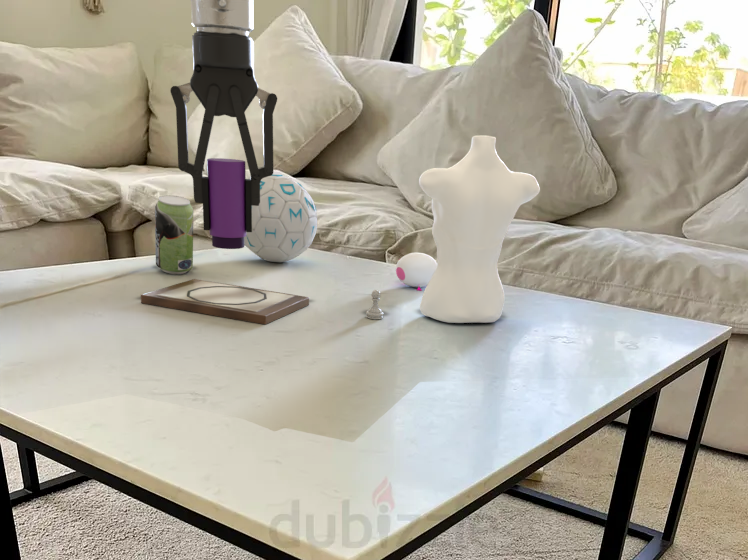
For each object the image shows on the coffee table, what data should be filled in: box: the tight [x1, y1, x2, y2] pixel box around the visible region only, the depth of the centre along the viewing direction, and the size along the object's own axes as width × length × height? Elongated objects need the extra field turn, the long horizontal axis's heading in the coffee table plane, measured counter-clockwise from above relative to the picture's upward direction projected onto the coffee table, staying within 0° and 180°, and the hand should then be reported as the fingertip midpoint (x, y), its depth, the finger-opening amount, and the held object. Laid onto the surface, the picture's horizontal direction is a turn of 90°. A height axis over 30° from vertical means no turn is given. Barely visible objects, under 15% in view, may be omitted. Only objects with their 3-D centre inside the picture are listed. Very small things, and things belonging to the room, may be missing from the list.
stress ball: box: [395, 252, 437, 291], centre depth 135 cm, size 8×8×7 cm
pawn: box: [365, 289, 384, 320], centre depth 113 cm, size 3×3×4 cm
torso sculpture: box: [418, 134, 541, 324], centre depth 112 cm, size 18×10×25 cm, turn 108°
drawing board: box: [140, 278, 310, 325], centre depth 115 cm, size 20×14×1 cm
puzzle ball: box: [244, 174, 318, 263], centre depth 144 cm, size 15×15×15 cm
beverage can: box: [154, 194, 194, 275], centre depth 129 cm, size 6×7×12 cm
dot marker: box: [206, 157, 247, 250], centre depth 106 cm, size 5×5×11 cm
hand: (227, 229), depth 108 cm, fingers closed on dot marker, 5 cm apart
